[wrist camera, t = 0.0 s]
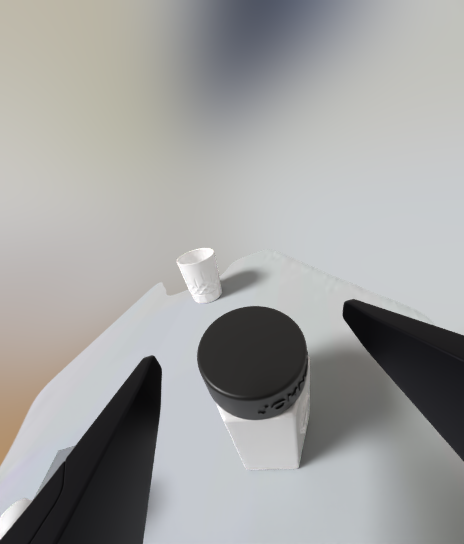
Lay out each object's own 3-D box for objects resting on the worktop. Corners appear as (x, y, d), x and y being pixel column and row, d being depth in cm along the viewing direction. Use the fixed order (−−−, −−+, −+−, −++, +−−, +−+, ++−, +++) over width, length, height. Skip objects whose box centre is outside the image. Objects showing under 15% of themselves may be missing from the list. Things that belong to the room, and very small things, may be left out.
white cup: (226, 283, 44) (217, 245, 40) (221, 304, 38) (209, 261, 33) (197, 286, 46) (184, 250, 41) (186, 307, 39) (170, 266, 35)
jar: (293, 507, 14) (284, 442, 8) (211, 442, 18) (169, 371, 13) (316, 394, 20) (319, 313, 15) (250, 366, 25) (233, 295, 19)
